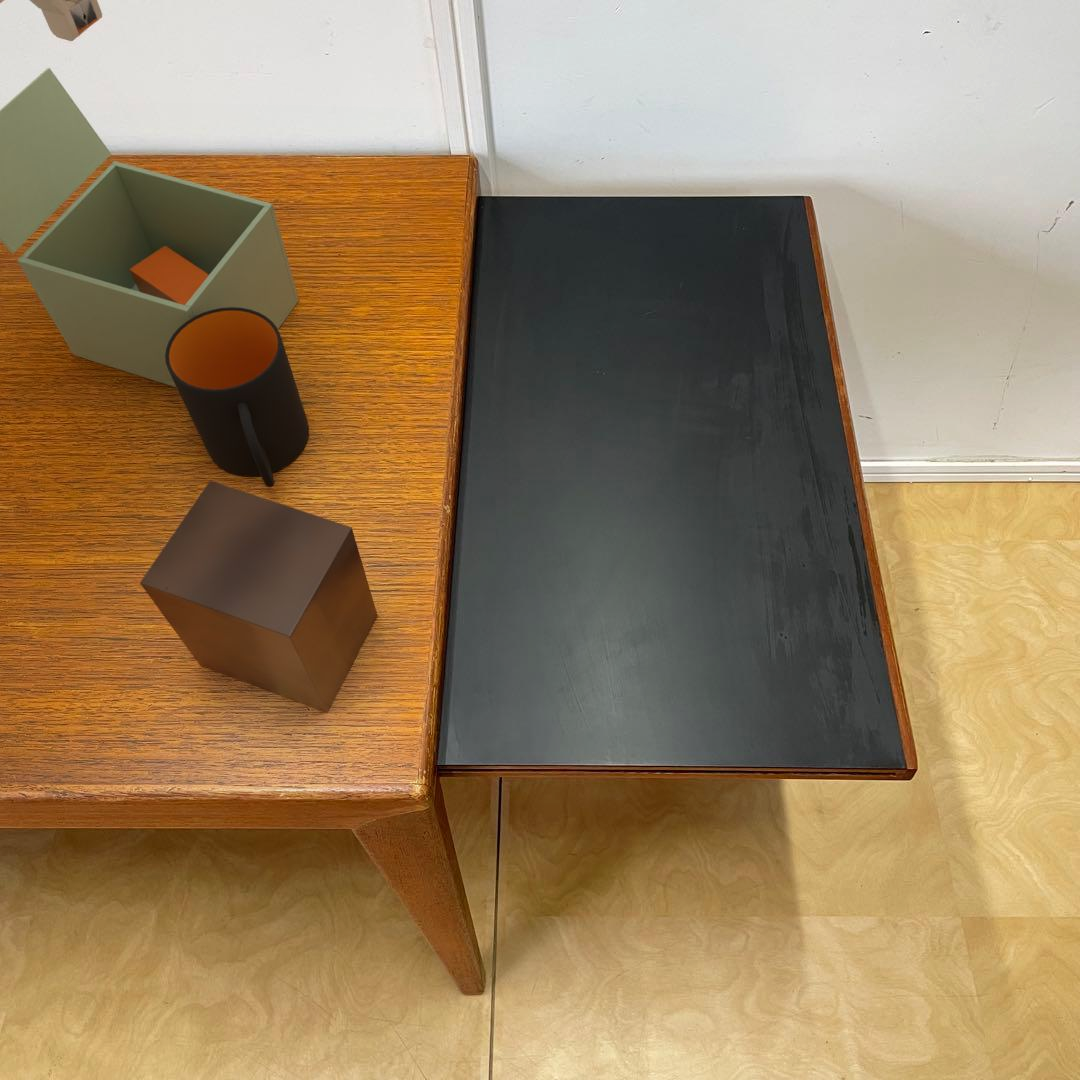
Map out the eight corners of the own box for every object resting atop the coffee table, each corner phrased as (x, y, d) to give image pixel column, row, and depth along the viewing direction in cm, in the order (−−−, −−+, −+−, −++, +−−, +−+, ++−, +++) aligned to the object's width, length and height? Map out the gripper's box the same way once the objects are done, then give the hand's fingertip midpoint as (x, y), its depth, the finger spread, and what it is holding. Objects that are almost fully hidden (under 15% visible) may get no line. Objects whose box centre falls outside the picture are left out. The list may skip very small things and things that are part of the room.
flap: (13, 253, 70) (11, 253, 70) (111, 154, 76) (109, 154, 77) (-63, 166, 65) (-65, 167, 65) (49, 67, 71) (47, 68, 71)
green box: (73, 355, 79) (16, 260, 71) (156, 258, 86) (113, 160, 77) (225, 403, 77) (186, 311, 68) (299, 300, 83) (272, 203, 74)
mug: (226, 527, 71) (184, 444, 62) (198, 413, 76) (155, 323, 68) (332, 495, 72) (305, 411, 63) (296, 386, 78) (267, 295, 69)
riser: (199, 665, 65) (139, 582, 54) (256, 572, 69) (209, 479, 58) (327, 713, 63) (289, 637, 53) (378, 615, 67) (352, 527, 57)
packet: (189, 311, 78) (200, 336, 80) (225, 285, 79) (234, 310, 82) (128, 269, 80) (140, 295, 83) (165, 245, 82) (175, 271, 84)
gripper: (49, -321, 52) (136, -58, 64) (-240, -179, 42) (-74, 102, 54) (142, -303, 51) (213, -39, 63) (-133, -152, 41) (13, 129, 53)
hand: (79, 28), depth 58 cm, fingers closed
